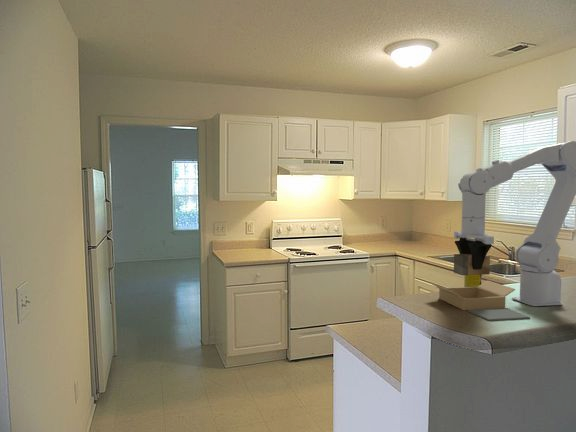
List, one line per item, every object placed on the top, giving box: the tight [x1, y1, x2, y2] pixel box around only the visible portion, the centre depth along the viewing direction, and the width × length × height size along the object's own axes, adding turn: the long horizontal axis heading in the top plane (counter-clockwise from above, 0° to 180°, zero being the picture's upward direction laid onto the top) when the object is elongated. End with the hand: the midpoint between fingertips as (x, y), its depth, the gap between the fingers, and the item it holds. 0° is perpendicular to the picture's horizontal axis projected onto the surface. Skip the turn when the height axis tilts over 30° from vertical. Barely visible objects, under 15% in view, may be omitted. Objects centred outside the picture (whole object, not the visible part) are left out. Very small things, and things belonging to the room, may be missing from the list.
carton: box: [430, 280, 516, 311], centre depth 112 cm, size 18×12×5 cm, turn 100°
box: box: [453, 253, 491, 276], centre depth 112 cm, size 8×4×5 cm, turn 100°
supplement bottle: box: [463, 275, 482, 287], centre depth 124 cm, size 5×5×8 cm
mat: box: [467, 307, 531, 322], centre depth 101 cm, size 11×8×1 cm
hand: (471, 267), depth 112 cm, fingers closed on box, 4 cm apart
